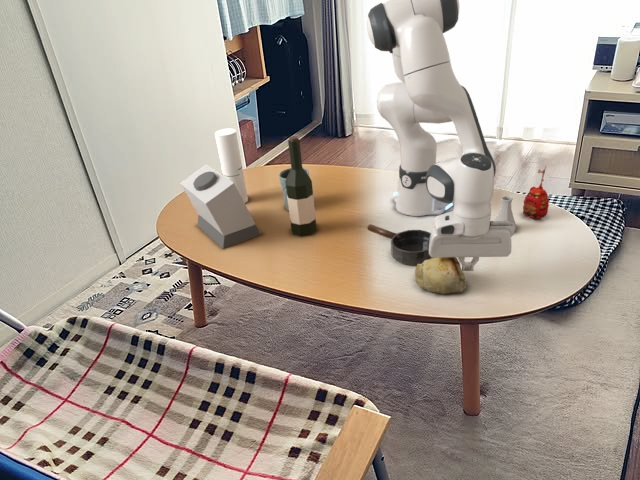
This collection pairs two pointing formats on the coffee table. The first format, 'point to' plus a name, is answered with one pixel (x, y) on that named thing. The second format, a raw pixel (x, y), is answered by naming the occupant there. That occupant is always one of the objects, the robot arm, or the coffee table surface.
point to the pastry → (440, 275)
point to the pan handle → (382, 231)
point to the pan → (411, 247)
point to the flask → (506, 211)
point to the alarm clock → (219, 207)
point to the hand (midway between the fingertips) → (467, 269)
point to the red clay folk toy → (536, 201)
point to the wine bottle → (299, 193)
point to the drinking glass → (283, 177)
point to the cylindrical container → (231, 159)
